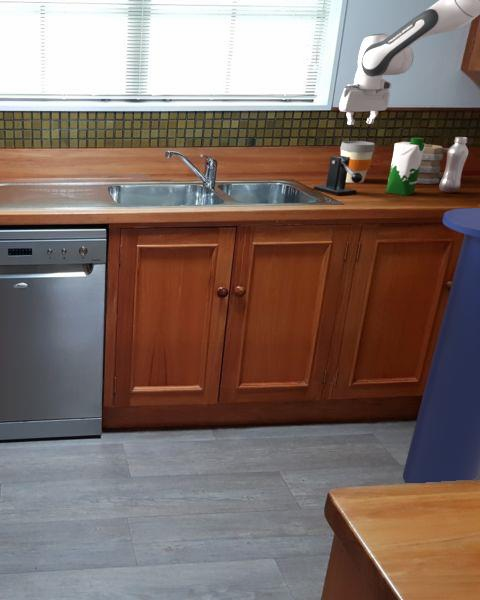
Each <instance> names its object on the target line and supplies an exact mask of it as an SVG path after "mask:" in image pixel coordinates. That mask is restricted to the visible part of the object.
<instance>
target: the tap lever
mask: <svg viewBox="0 0 480 600" xmlns="http://www.w3.org/2000/svg"><path fill="white" fill-rule="evenodd" d="M340 158H342V157H340ZM341 166H342V167H343V168H344V169H345V170H346V171H347V172H348V173H349V174H350V175H351V176H352V177H351V179H352V181H353V182H355V183H354V184H359V183H358V182H360V181H361V180H362V174H361V173H354V172H353V171H352V170H351V169H350V168H349V167H348V166H347V165H346V164H345V160H344V159H343V158H342V160H341V165H340V167H341Z"/></svg>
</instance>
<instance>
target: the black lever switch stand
mask: <svg viewBox="0 0 480 600" xmlns="http://www.w3.org/2000/svg"><path fill="white" fill-rule="evenodd" d="M340 157H342V158H343V159H344V160H345V164H346V165H347V166H349V161H350V157H346V156H341V155H338V156H334V155H331V156H330V160H329V165H328V172H327V177H326V183H325V184H319V185H313V190H315V191H320V192H323V193H326V194H330V195H334V196H337V197H338V196H346V195H355V194H357V191H358V190H357V189H353V188H349V187H346V185H347V184H346V183H347V182H346V178H347V171H346V170H345V169H344V168H343V167H342V166H341V167H340V165H341V160H342V158H340Z"/></svg>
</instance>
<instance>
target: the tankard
mask: <svg viewBox="0 0 480 600" xmlns="http://www.w3.org/2000/svg"><path fill="white" fill-rule="evenodd" d="M425 144H426V143H425ZM450 148H451V147H449V148H448V147H443V146H442V145H436V144H426V146H425V149H424V152H423V155H422V159H421V164H420V169H419V173H418V178H417V182H416V184H421V185H436V184H440V178H441V179H442V178H443V175H444V172H442V171H440V170H441V165H440V164H441V163H440V162H441V161H443V157H444V154H447V153H448V150H449V149H450ZM443 153H444V154H443Z"/></svg>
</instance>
